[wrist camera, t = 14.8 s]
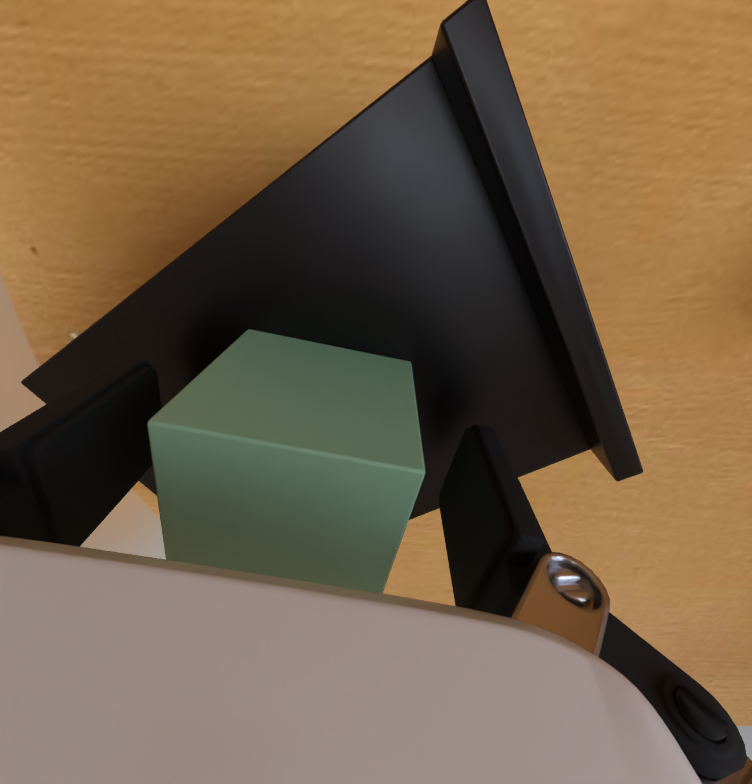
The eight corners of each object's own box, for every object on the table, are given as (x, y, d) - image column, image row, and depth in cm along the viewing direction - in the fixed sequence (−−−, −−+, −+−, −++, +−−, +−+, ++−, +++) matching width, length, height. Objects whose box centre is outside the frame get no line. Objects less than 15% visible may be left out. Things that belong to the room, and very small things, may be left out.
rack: (291, 480, 22) (244, 615, 15) (142, 321, 17) (-33, 407, 10) (541, 361, 18) (644, 472, 10) (431, 104, 13) (483, -15, 6)
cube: (244, 456, 13) (169, 591, 8) (248, 327, 10) (144, 421, 6) (378, 480, 13) (373, 622, 9) (411, 360, 11) (427, 472, 6)
